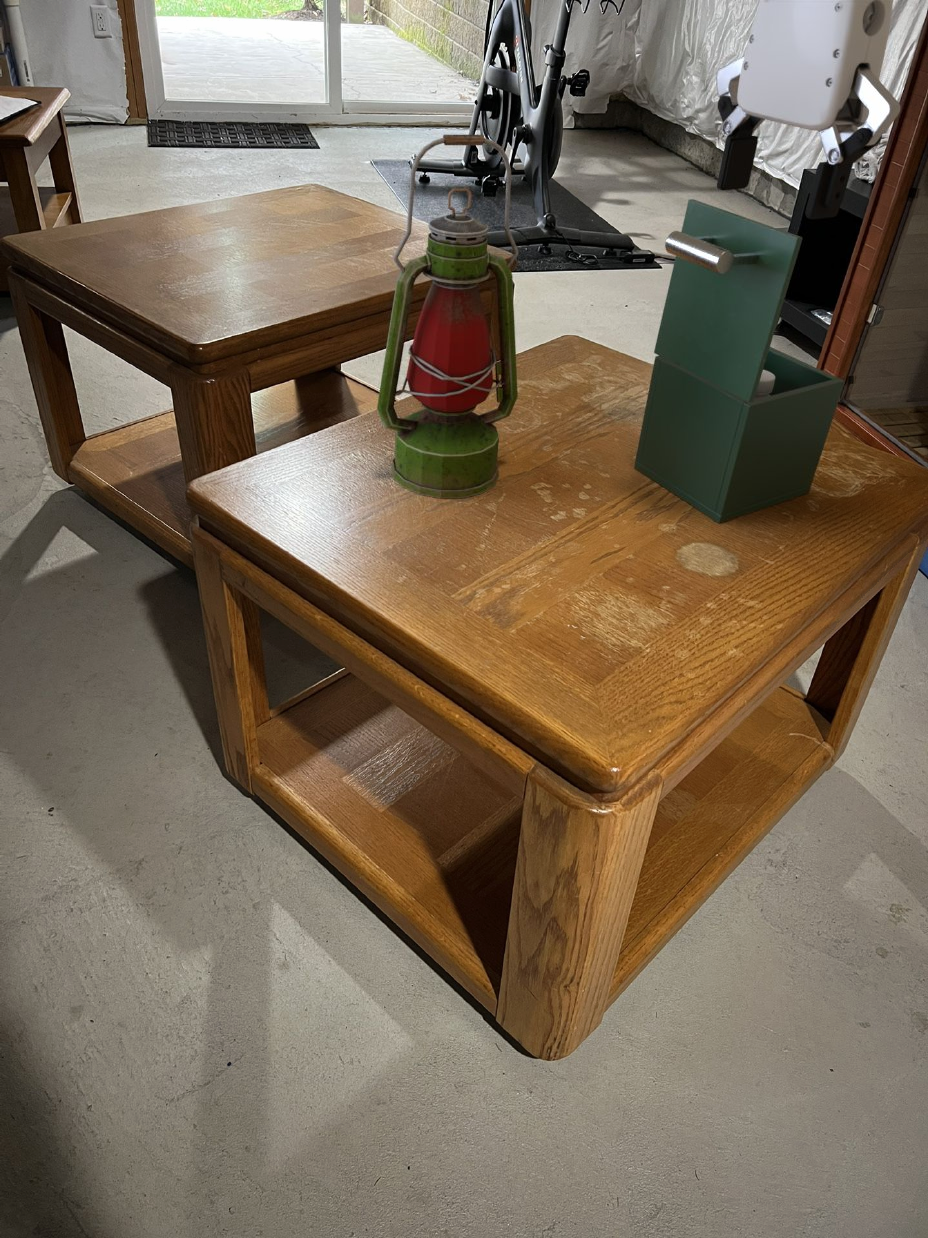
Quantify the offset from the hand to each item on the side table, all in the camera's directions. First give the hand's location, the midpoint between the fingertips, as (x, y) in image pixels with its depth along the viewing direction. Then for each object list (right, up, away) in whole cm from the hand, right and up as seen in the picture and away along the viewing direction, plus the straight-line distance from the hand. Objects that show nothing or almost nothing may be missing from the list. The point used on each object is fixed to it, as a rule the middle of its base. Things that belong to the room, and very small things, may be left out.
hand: (774, 201), depth 77 cm
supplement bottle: (+2, -19, +18) cm, 26 cm away
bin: (0, -20, +17) cm, 27 cm away
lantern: (-27, -20, +15) cm, 37 cm away
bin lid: (-3, -7, +3) cm, 8 cm away
